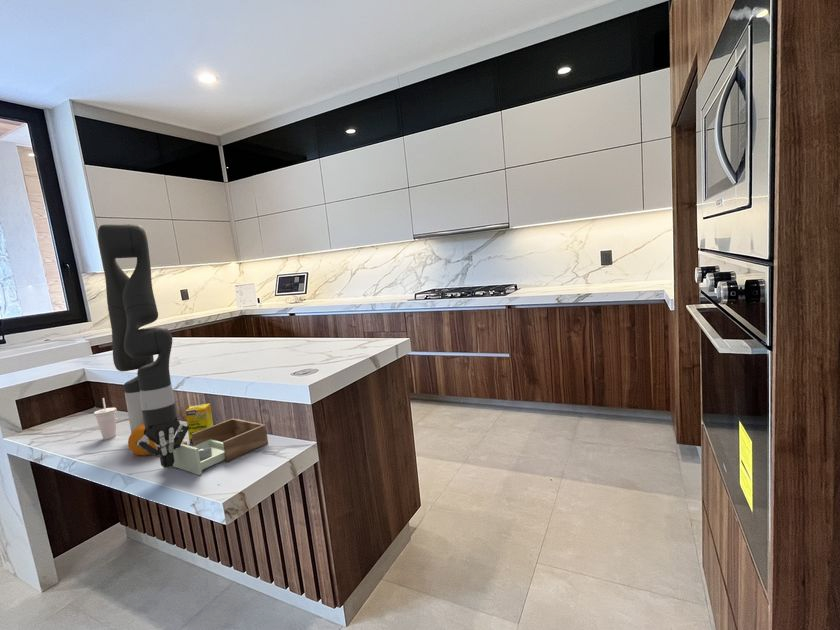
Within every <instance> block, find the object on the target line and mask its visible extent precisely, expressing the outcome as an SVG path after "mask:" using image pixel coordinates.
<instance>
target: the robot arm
mask: <svg viewBox="0 0 840 630" xmlns="http://www.w3.org/2000/svg"><path fill="white" fill-rule="evenodd" d="M97 241H98V242H97V243H98V248H99V252H100V257H101V261H102V262H101V263H102V267H103V268H102V269H103V273H104V279H105V291H106V302H107V311H108V315H109V316H108V317H109V321H110V328H111V341H112V345H111V346H112V361H113V365H114V367H115V369H116V370H117V371H119V372H130V371H135V370H137V372H136V374H137V376H135V377H133V378H132V379H129V380H128V381H126V382H125V383H123V391H124V398H125V403H126V409H127V415H128V422H129V427H130V434H131V433H132V432H133V431H134V429H135V428H137V427H138V426H140V425H143V424H144V425H145V430H144V436H143V437H142V438H141V439H140V440H138V441H136V445H137V446H139V447H141V448H142V449H144V450H145V451H147V452H148V453H150V454H151V455H152V456H155V457H158V456H159V461H160V466H161V467H163V468H165V469H169V468H171V467H174V466H173V463H174V454H173V451H174V450H175V449H176V448H179V447H180V445H181V443H182V441H184V439H185V437H186V436H187V435H186V434H188V429H189V427H188V426H187V425H185V424H181V422H180V420H179V419H178V412H177V407H176V406H177V405H176V397H175V393H174V390H173V386H172V381H171V374H170V359H171V352H172V346H173V335H172V333H171V331H170V330H169V329H168V328H166V327H164V326H157V327H152V328H151V327H150V328H143V329H142V327H144V326H147V325H151V324H152V323H154V322H156V321H157V320H158V319H159V312H158V307H157V304H156V300H155V294H154V290H153V281H152V270H151V259H150V250H149V249H150V248H149V241H148V235H147V233H146V231H145V229H144V228H143V226H142V225H140V224H130V223H128V224H127V223H123V224H121V223H119V224H116V223H115V224H113V223H111V224H101V225H100V226H99V227H98V230H97ZM129 258H130V259H133V258H134V259H135V258H136V264H135V267H134V270H133V272H132V274H131V275H130V276H128V275H127V274H126V272H124V270H123V269H122V268H121V267H120V265H119V264H118V262H117V260H116V259H129ZM140 328H141V329H140ZM155 355H158V356H157V358H156V359H155V358H154V356H155ZM148 439H150V440H151V441H153V442H154V443H155V446H156V447H157V450H156V449H154V448H153V447H151V446H150V445H148V444H149V441H148Z"/></svg>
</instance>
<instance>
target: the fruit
mask: <svg viewBox="0 0 840 630" xmlns="http://www.w3.org/2000/svg"><path fill="white" fill-rule="evenodd" d="M144 430H145V425H144V424H143V425H140V426H138V427H137V428H135V429H134V431H133V432H132V433H131V432H130V435H129V437H128V440H127V446H128V448H129V451H130V452H131V453H132V454H134V455H138V456H150V455H152V454H150V453H148V452H147V451H145V450H144V449H142V448H141V447H139V446H137V445H136V441H138V440H140V439H141V438H142V437H143V436H144ZM148 441H149V444H148V445H150V446H151V447H153V448H154V449H156V450H157V447H156V446H155V443H154V442H153V441H151V440H150V439H148Z"/></svg>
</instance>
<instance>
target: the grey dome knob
mask: <svg viewBox="0 0 840 630" xmlns="http://www.w3.org/2000/svg"><path fill="white" fill-rule="evenodd" d="M195 448H198V449H199V456H200V462H201V461H203V460H205V459H208V458H210V457H211V456H212V450H211V446H210V445H203V446H198V447H195Z"/></svg>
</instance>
